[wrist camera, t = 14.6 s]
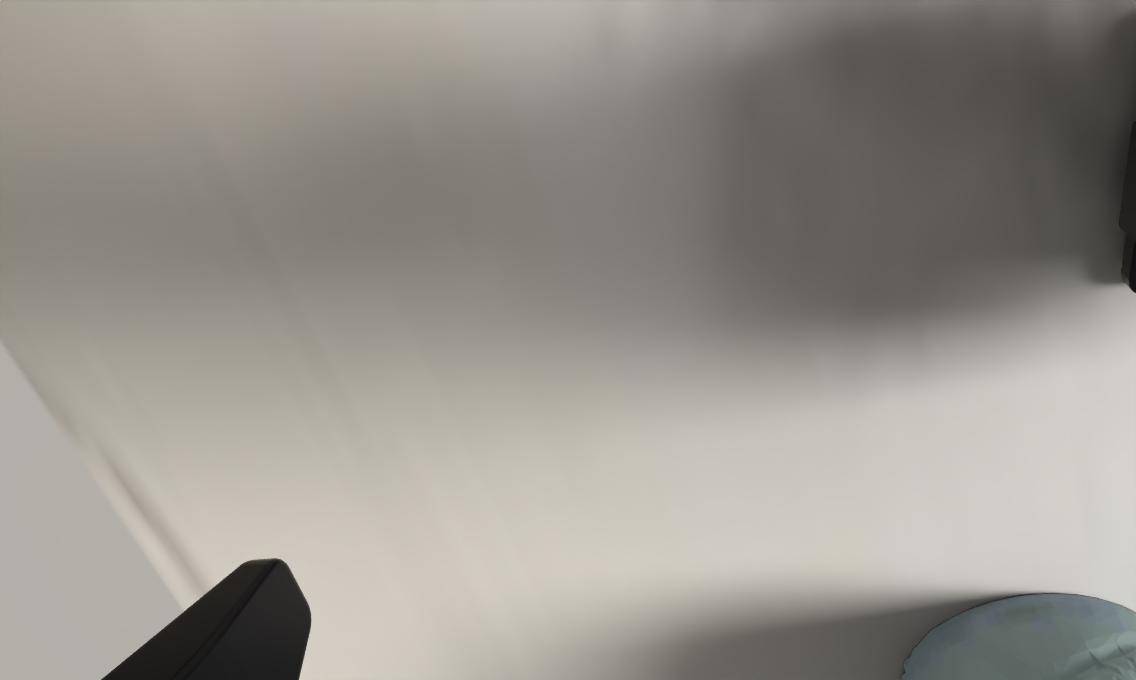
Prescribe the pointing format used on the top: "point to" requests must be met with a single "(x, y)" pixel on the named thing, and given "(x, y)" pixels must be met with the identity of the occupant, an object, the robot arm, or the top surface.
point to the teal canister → (1030, 642)
